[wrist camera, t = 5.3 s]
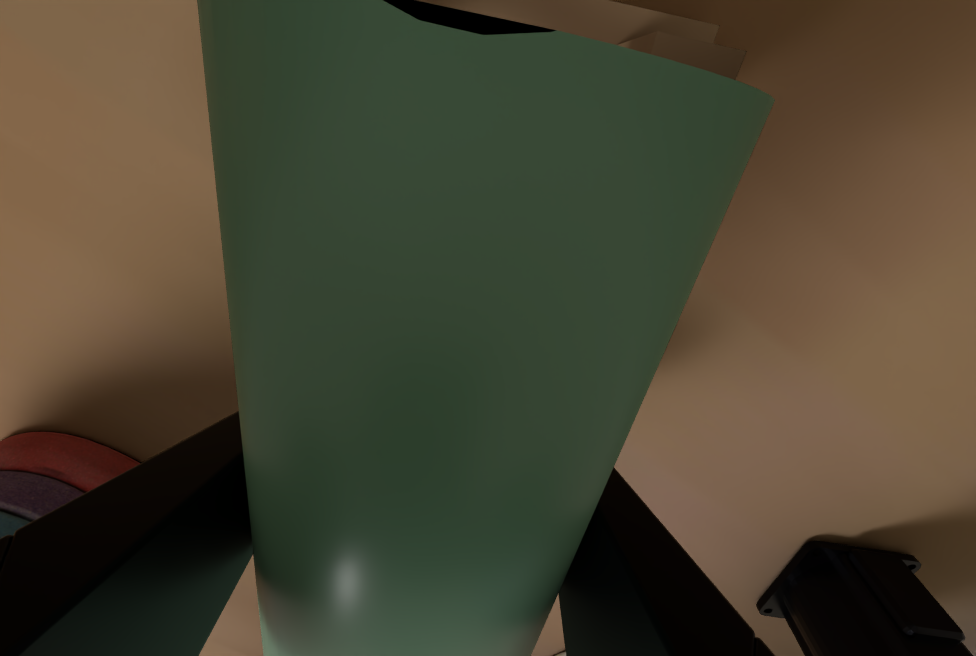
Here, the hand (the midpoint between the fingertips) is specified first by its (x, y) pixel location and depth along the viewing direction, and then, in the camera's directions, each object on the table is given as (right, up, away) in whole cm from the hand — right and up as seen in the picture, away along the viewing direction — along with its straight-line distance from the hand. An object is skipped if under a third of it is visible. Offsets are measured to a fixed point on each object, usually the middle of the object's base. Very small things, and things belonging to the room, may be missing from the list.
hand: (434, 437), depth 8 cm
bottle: (-1, -2, +2) cm, 3 cm away
